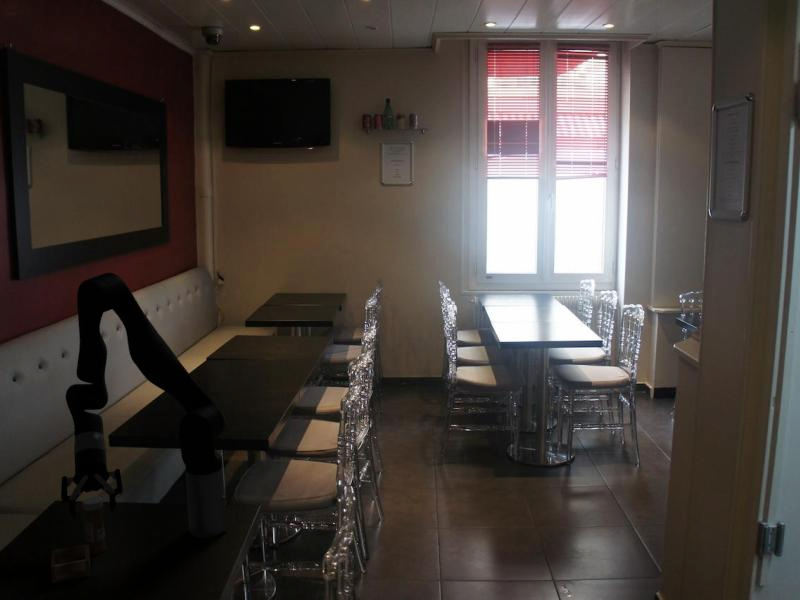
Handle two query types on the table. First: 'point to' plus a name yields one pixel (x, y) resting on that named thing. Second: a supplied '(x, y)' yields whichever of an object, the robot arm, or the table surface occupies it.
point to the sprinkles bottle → (94, 524)
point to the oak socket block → (70, 563)
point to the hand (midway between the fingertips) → (93, 513)
